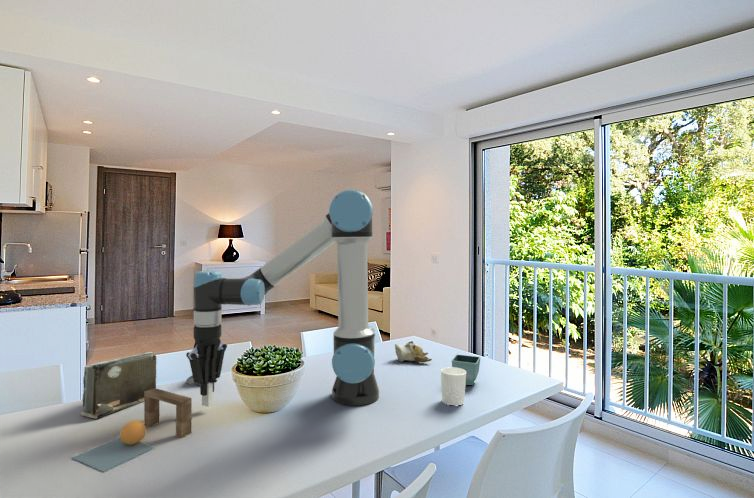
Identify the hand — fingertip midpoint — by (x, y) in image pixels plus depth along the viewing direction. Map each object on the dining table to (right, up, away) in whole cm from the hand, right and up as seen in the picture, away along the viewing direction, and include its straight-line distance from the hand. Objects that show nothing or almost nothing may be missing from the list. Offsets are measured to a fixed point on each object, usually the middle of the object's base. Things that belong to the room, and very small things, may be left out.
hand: (207, 404), depth 124 cm
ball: (-10, 0, -20) cm, 22 cm away
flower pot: (+81, -3, +28) cm, 86 cm away
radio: (-28, -2, +5) cm, 28 cm away
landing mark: (-12, -2, -24) cm, 27 cm away
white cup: (+73, -3, +10) cm, 74 cm away
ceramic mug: (-11, -1, +24) cm, 27 cm away
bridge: (-6, -2, -12) cm, 13 cm away
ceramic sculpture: (+64, -2, +54) cm, 84 cm away
